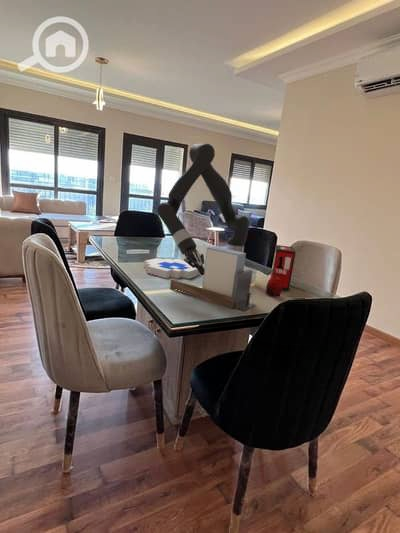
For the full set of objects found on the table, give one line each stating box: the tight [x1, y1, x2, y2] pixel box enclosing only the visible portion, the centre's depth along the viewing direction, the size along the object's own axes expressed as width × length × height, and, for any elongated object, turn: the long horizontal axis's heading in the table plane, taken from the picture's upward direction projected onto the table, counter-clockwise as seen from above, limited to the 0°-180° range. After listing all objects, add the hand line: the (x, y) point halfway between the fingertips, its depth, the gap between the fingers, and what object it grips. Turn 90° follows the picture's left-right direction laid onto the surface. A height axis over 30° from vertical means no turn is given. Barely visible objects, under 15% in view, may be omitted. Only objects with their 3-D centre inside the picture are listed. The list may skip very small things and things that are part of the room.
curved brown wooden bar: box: [169, 278, 252, 310], centre depth 137 cm, size 12×33×4 cm, turn 56°
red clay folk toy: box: [265, 266, 282, 298], centre depth 146 cm, size 8×7×15 cm
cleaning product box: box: [269, 244, 297, 292], centre depth 163 cm, size 16×9×20 cm, turn 168°
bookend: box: [229, 269, 256, 313], centre depth 126 cm, size 13×6×14 cm, turn 146°
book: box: [201, 245, 247, 297], centre depth 131 cm, size 6×15×21 cm, turn 55°
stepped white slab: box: [143, 257, 201, 280], centre depth 170 cm, size 28×4×28 cm
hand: (204, 274), depth 137 cm, fingers closed
